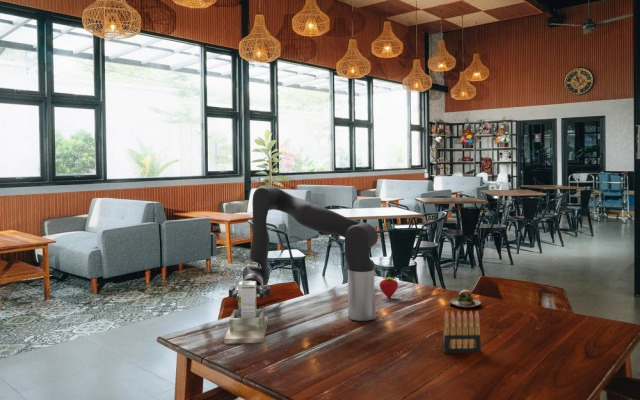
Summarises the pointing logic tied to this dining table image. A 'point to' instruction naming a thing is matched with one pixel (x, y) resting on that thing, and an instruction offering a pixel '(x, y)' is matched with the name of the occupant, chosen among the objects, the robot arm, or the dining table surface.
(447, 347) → the ammunition clip
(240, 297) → the syrup box
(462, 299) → the burger
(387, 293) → the strawberry
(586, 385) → the dining table surface
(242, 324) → the stand
